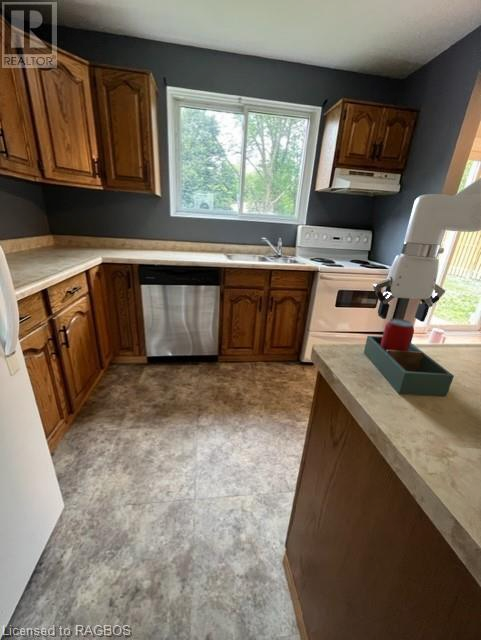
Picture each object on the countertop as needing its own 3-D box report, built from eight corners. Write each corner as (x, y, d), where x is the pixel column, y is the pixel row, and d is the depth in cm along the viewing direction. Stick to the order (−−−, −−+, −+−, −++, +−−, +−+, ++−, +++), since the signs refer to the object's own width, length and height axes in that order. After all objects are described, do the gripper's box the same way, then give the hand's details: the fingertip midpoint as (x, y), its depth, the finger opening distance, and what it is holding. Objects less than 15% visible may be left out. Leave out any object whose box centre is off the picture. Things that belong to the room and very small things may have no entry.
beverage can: (409, 366, 73) (422, 325, 69) (391, 370, 71) (403, 328, 67) (388, 355, 79) (399, 316, 75) (371, 358, 77) (381, 318, 73)
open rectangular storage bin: (399, 354, 80) (404, 336, 78) (446, 397, 61) (454, 373, 59) (363, 352, 80) (367, 334, 78) (398, 394, 61) (405, 370, 59)
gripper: (445, 252, 68) (425, 316, 74) (376, 247, 68) (361, 311, 74) (467, 255, 61) (443, 326, 67) (390, 250, 61) (373, 321, 67)
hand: (400, 318), depth 71 cm, fingers open, 9 cm apart
